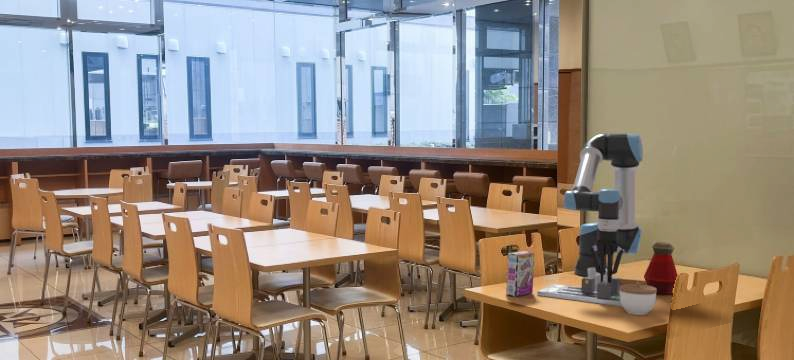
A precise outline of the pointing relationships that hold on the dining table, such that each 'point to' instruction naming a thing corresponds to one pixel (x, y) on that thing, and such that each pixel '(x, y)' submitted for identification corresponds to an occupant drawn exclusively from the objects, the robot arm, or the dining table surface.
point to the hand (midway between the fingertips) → (605, 291)
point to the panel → (578, 295)
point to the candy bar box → (520, 273)
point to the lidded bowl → (637, 298)
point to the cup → (595, 275)
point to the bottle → (661, 269)
